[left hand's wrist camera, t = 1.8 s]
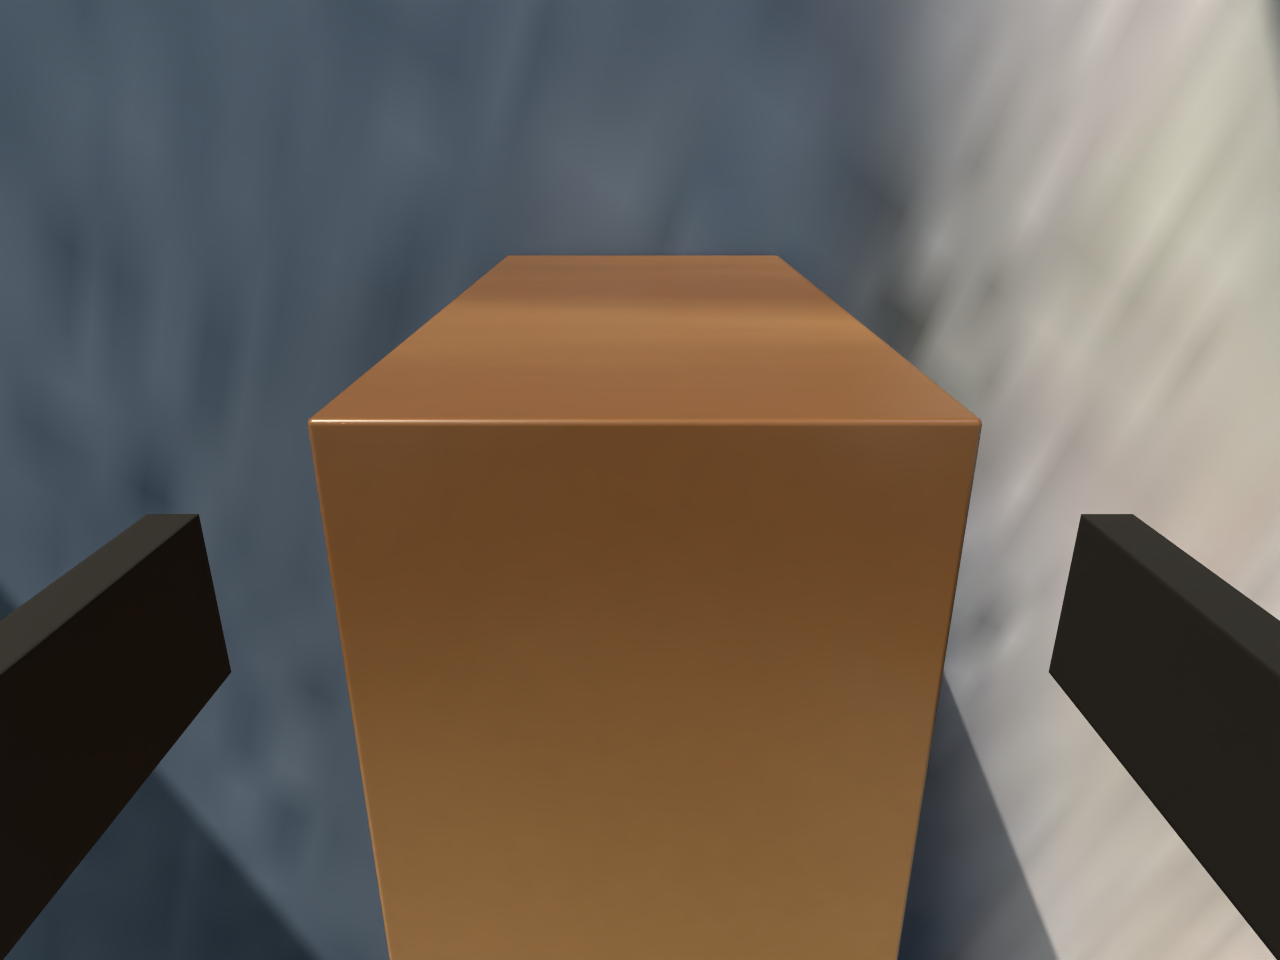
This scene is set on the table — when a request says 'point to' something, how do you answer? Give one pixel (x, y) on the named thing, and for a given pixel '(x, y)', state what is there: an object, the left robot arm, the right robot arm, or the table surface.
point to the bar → (644, 613)
